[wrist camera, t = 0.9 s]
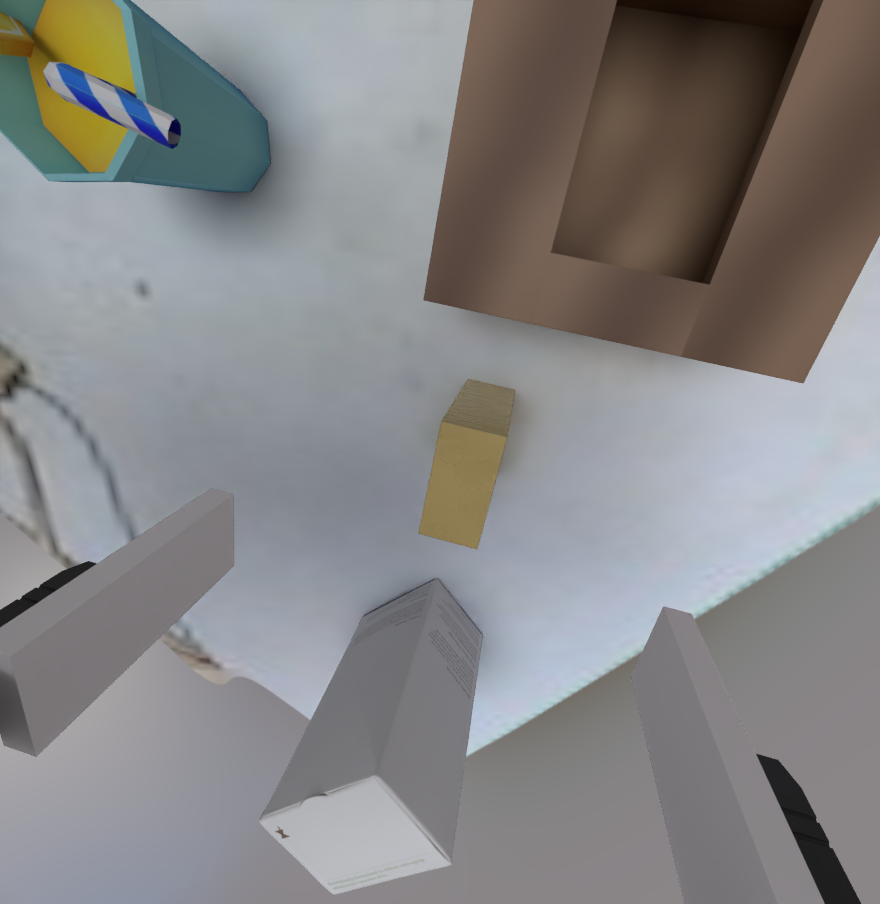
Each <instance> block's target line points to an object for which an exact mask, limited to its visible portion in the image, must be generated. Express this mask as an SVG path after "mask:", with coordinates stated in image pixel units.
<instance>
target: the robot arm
mask: <svg viewBox="0 0 880 904" xmlns="http://www.w3.org/2000/svg"><path fill="white" fill-rule="evenodd" d="M233 566H234V494H231V493H227V492H223V491H219V490H215V489H210V490H208V491H207V492H205V493H203V494H202V495H200V496H199V497H197V498H196V499H194V500H193V501H191V502H190V503H188V504H187V505H185V506H184V507H182V508H181V509H179V510H178V511H176V512H175V513H173V514H172V515H170V516H169V517H167V518H166V519H164V520H163V521H161V522H160V523H158V524H156V525H155V526H153V527H152V528H150V529H149V530H147V531H146V532H144V533H143V534H141V535H140V536H138V537H137V538H135V539H134V540H132V541H131V542H129V543H128V544H126V545H125V546H123V547H122V548H120V549H119V550H117V551H116V552H114V553H113V554H111V555H109V556H108V557H106V558H105V559H103V560H102V561H100V562H99V563H97V564H96V563H93V562H90V561H88V562H85V563H82V564H80V565H77V566H74V567H72V568H69V569H66V570H64V571H62V572H60V573H58V574H57V575H55V576H54V577H52V578H50V579H49V580H47V581H46V582H44V583H43V584H41V585H40V587H39V588H34V589H33V590H31V591H30V592H28V593H26V594H25V595H23V596H22V598H21V599H20V600H15V601H14V602H12V603H11V604H9V605H7V606H6V607H4V608H3V609H1V610H0V734H1V738H2V741H3V744H4V746H7V747H10V748H13V749H16V750H19V751H21V752H24V753H27V754H30V755H33V756H36V757H37V756H38V755H39V754H40V753H41V752H42V751H43V750H44V749H45V748H46V747H47V746H48V745H49V744H50V743H51V742H52V741H53V740H54V739H55V738H56V737H57V736H58V735H59V734H60V733H61V732H62V731H64V730H65V729H66V728H67V727H68V726H69V725H70V724H71V723H72V722H73V721H74V720H75V719H76V718H77V717H78V716H79V715H80V714H81V713H82V712H83V711H84V710H85V709H86V708H87V707H88V706H89V705H90V704H91V703H93V701H94V700H96V699H97V698H98V697H99V696H100V694H102V693H103V692H104V691H105V690H106V689H107V688H108V687H109V686H110V685H111V684H112V683H113V682H114V681H115V680H116V679H117V678H118V677H119V676H120V675H122V674H123V673H124V671H126V670H127V668H129V667H130V666H131V665H132V664H133V663H134V662H135V661H136V660H137V659H138V658H139V657H140V656H141V655H142V654H143V653H144V652H145V651H146V650H147V649H148V648H149V647H150V646H151V645H152V644H153V643H155V642H156V640H158V639H159V638H160V637H161V636H162V635H163V634H164V633H165V632H166V631H167V630H168V629H169V628H170V627H171V626H172V625H173V624H174V623H175V622H176V621H177V620H178V619H179V618H181V617H182V616H183V615H184V614H185V613H186V612H187V611H188V610H189V609H190V608H191V607H192V606H193V605H194V604H195V603H196V602H197V601H198V600H199V599H200V598H201V597H202V596H203V595H204V594H205V593H206V592H207V591H208V590H209V589H211V588H212V587H213V586H214V585H215V584H216V583H217V582H218V581H219V580H220V579H221V578H222V577H223V576H224V575H225V574H226V573H227V572H228V571H229V570H230V569H231V568H232V567H233ZM631 680H632V684H633V688H634V693H635V697H636V701H637V705H638V709H639V714H640V718H641V722H642V726H643V731H644V735H645V739H646V744H647V748H648V752H649V756H650V760H651V765H652V769H653V773H654V777H655V782H656V786H657V790H658V794H659V799H660V803H661V807H662V811H663V815H664V820H665V824H666V828H667V832H668V837H669V841H670V845H671V849H672V854H673V858H674V862H675V866H676V871H677V875H678V879H679V883H680V887H681V892H682V896H683V900H684V904H861V903H860V901H859V899H858V897H857V895H856V893H855V891H854V889H853V887H852V885H851V883H850V881H849V879H848V878H847V875H846V874H845V872H844V870H843V868H842V866H841V864H840V862H839V860H838V858H837V856H836V854H835V852H834V850H833V849H832V848H830V847H829V841H828V839H827V837H826V835H825V833H824V831H823V829H822V827H821V825H820V823H817V821H816V815H815V814H814V812H813V810H812V808H811V806H810V804H809V802H808V800H807V798H806V796H805V795H804V792H803V790H802V788H801V787H800V786H799V785H798V783H797V782H796V781H795V780H794V779H793V778H792V776H791V775H790V774H789V773H788V771H787V770H786V769H785V768H784V766H782V764H781V763H780V762H779V761H778V760H776V759H772V758H769V757H766V756H762V755H758V754H756V753H755V751H754V749H753V746H752V744H751V742H750V740H749V738H748V736H747V733H746V731H745V729H744V727H743V725H742V723H741V720H740V718H739V716H738V714H737V712H736V710H735V707H734V705H733V703H732V701H731V699H730V696H729V694H728V692H727V690H726V688H725V686H724V683H723V681H722V679H721V677H720V675H719V672H718V670H717V668H716V666H715V664H714V662H713V659H712V657H711V655H710V653H709V651H708V648H707V646H706V644H705V642H704V640H703V638H702V635H701V633H700V631H699V629H698V627H697V625H696V622H695V620H694V618H693V616H692V614H690V613H686V612H683V611H679V610H675V609H671V608H667V607H663V608H662V611H661V613H660V615H659V617H658V619H657V621H656V624H655V626H654V628H653V630H652V632H651V634H650V637H649V639H648V641H647V643H646V645H645V647H644V650H643V652H642V654H641V656H640V658H639V660H638V663H637V665H636V667H635V669H634V672H633V673H632V676H631Z"/></svg>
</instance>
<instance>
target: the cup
mask: <svg viewBox="0 0 880 904" xmlns="http://www.w3.org/2000/svg"><path fill="white" fill-rule="evenodd" d="M0 132H1V133H2V134H3V135H4V136H5V137H6V138H7V139H8V140H9V141H10V142H11V143H12V144H13V145H14V146H15V147H16V148H17V149H18V150H19V151H20V152H21V153H22V154H23V155H24V156H25V157H26V158H27V159H28V160H29V161H30V162H31V163H32V164H33V165H34V167H35V168H36V169H37V170H38V171H39V172H40V173H41V174H42V175H43V176H44V177H45V178H46V179H47V180H48V181H60V182H135V183H144V184H153V185H162V186H171V187H180V188H189V189H198V190H208V191H217V192H251V191H252V190H253V188H254V187H255V185H256V184H257V183H258V181H259V180H260V178H261V177H262V175H263V174H264V173H265V171H266V170H267V168H268V167H269V165H270V164H271V160H270V149H269V138H268V127H267V120H266V119H265V118H264V117H263V116H262V115H261V114H260V112H259V111H258V110H257V109H256V108H255V107H254V106H253V105H252V103H251V102H250V101H249V100H248V99H247V98H246V97H245V95H244V94H243V93H242V92H241V91H240V90H239V89H238V88H237V87H235V86H234V85H233V84H232V83H230V82H229V81H228V80H227V79H226V78H224V77H223V76H222V75H221V74H219V73H218V72H217V71H216V70H215V69H213V68H212V67H211V66H210V65H209V64H207V63H206V62H205V61H204V60H202V59H201V58H200V57H199V56H198V55H196V54H195V53H194V52H193V51H191V50H190V49H189V48H188V47H187V46H185V45H184V44H183V43H182V42H180V41H179V40H178V39H177V38H176V37H174V36H173V35H172V34H171V33H170V32H168V31H167V30H166V29H165V28H163V27H162V26H161V25H160V24H159V23H157V22H156V21H155V20H154V19H152V18H151V17H150V16H149V15H148V14H146V13H145V12H144V11H143V10H142V9H140V8H139V7H138V6H137V5H135V4H134V3H133V2H132V1H131V0H0Z"/></svg>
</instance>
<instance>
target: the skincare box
mask: <svg viewBox="0 0 880 904" xmlns="http://www.w3.org/2000/svg"><path fill="white" fill-rule="evenodd" d="M482 638H483V636H482V634H481V633H480V631H479V630H478V629H477V628H476V626H475V625H474V624H473V623H472V621H471V620H470V619H469V618H468V616H467V615H466V614H465V612H464V611H463V610H462V609H461V607H460V606H459V605H458V603H457V602H456V601H455V600H454V598H453V597H452V596H451V594H450V593H449V592H448V591H447V589H446V588H445V587H444V586H443V584H442V583H441V582H440V580H439V579H435V580H433V581H431V582H429V583H427V584H425V585H423V586H421V587H419V588H417V589H415V590H413V591H411V592H409V593H408V594H406V595H404V596H402V597H400V598H398V599H396V600H394V601H392V602H390V603H388V604H386V605H385V606H383V607H381V608H379V609H377V610H375V611H373V612H371V613H369V614H368V615H366V616H364V617H362V619H361V621H360V623H359V626H358V628H357V630H356V632H355V634H354V636H353V638H352V640H351V642H350V644H349V646H348V648H347V650H346V652H345V654H344V656H343V658H342V660H341V661H340V663H339V665H338V667H337V669H336V671H335V673H334V675H333V677H332V679H331V681H330V683H329V685H328V687H327V689H326V691H325V693H324V695H323V697H322V699H321V701H320V703H319V705H318V707H317V709H316V711H315V713H314V715H313V717H312V719H311V721H310V723H309V725H308V727H307V729H306V731H305V733H304V735H303V737H302V739H301V741H300V743H299V745H298V747H297V748H296V750H295V753H294V754H293V756H292V758H291V760H290V763H289V764H288V766H287V769H286V770H285V772H284V774H283V776H282V778H281V780H280V782H279V784H278V786H277V788H276V790H275V792H274V794H273V796H272V798H271V800H270V802H269V804H268V805H267V807H266V809H265V811H264V812H263V814H262V816H261V817H260V820H259V822H260V824H261V825H262V826H263V827H264V828H265V829H266V830H267V831H268V832H269V833H270V834H271V835H272V836H273V837H274V838H275V839H276V840H277V841H278V842H280V843H281V844H282V845H283V846H284V847H285V848H286V849H287V850H288V851H289V852H290V853H291V854H292V855H293V856H294V857H295V858H296V859H297V860H298V861H299V862H301V864H302V865H303V866H304V867H305V868H306V869H307V870H308V871H309V872H310V873H311V874H312V875H313V876H314V877H315V878H316V879H317V880H318V881H319V882H320V883H321V884H322V885H323V886H324V887H325V888H326V889H328V890H329V891H330V892H331V893H332V894H333V895H335V894H338V893H343V892H346V891H349V890H353V889H357V888H361V887H365V886H369V885H373V884H377V883H380V882H384V881H388V880H392V879H396V878H400V877H404V876H408V875H412V874H416V873H420V872H424V871H429V870H433V869H437V868H441V867H445V866H449V865H451V864H452V854H453V846H454V840H455V832H456V825H457V818H458V810H459V803H460V796H461V788H462V781H463V774H464V766H465V759H466V752H467V745H468V739H469V731H470V724H471V716H472V709H473V702H474V695H475V688H476V681H477V673H478V666H479V658H480V651H481V645H482Z"/></svg>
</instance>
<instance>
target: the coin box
mask: <svg viewBox="0 0 880 904" xmlns="http://www.w3.org/2000/svg"><path fill="white" fill-rule="evenodd" d="M879 236H880V0H474V2H473V8H472V14H471V20H470V26H469V32H468V38H467V44H466V50H465V56H464V62H463V68H462V74H461V80H460V86H459V91H458V97H457V103H456V109H455V115H454V121H453V127H452V133H451V139H450V145H449V151H448V157H447V163H446V169H445V175H444V181H443V187H442V193H441V199H440V205H439V211H438V217H437V223H436V229H435V235H434V240H433V246H432V252H431V258H430V264H429V270H428V276H427V282H426V288H425V294H424V300H425V301H430V302H434V303H439V304H444V305H448V306H453V307H457V308H462V309H466V310H471V311H475V312H480V313H485V314H489V315H494V316H498V317H503V318H507V319H512V320H516V321H521V322H526V323H530V324H535V325H539V326H544V327H548V328H553V329H558V330H562V331H567V332H571V333H576V334H580V335H585V336H589V337H594V338H599V339H603V340H608V341H612V342H617V343H621V344H626V345H631V346H635V347H640V348H644V349H649V350H653V351H658V352H662V353H667V354H672V355H676V356H681V357H685V358H690V359H694V360H699V361H703V362H708V363H713V364H717V365H722V366H726V367H731V368H735V369H740V370H745V371H749V372H754V373H758V374H763V375H767V376H772V377H776V378H781V379H786V380H790V381H795V382H799V383H804V381H805V379H806V377H807V375H808V373H809V371H810V369H811V367H812V365H813V364H814V362H815V360H816V358H817V356H818V354H819V352H820V350H821V348H822V346H823V344H824V342H825V340H826V338H827V336H828V335H829V333H830V331H831V329H832V327H833V325H834V323H835V321H836V319H837V317H838V315H839V313H840V311H841V309H842V308H843V306H844V304H845V302H846V300H847V298H848V296H849V294H850V292H851V290H852V288H853V286H854V284H855V282H856V280H857V279H858V277H859V275H860V273H861V271H862V269H863V267H864V265H865V263H866V261H867V259H868V257H869V255H870V253H871V252H872V250H873V248H874V246H875V244H876V242H877V240H878V238H879Z"/></svg>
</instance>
